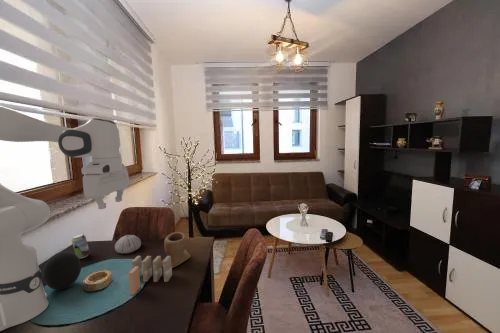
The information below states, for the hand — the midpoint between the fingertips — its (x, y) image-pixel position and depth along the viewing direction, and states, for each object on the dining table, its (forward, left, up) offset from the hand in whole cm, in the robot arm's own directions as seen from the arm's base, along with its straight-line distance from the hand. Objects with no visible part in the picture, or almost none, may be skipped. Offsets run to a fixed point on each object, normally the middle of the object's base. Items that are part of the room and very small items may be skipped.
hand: (111, 204), depth 85 cm
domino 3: (+3, +17, -38) cm, 41 cm away
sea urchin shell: (-21, +45, -38) cm, 63 cm away
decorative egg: (-29, +10, -38) cm, 49 cm away
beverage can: (-41, +36, -38) cm, 66 cm away
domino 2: (+2, +8, -38) cm, 38 cm away
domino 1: (-2, +17, -38) cm, 41 cm away
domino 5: (+12, +17, -38) cm, 43 cm away
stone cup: (+11, +31, -38) cm, 50 cm away
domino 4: (+7, +17, -38) cm, 42 cm away
